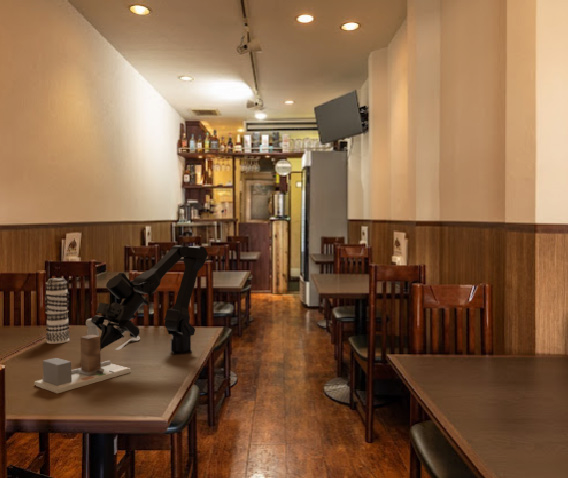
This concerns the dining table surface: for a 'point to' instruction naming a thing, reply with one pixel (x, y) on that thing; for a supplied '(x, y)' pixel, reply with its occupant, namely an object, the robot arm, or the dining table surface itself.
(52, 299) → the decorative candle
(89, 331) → the salt shaker
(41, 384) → the gauge board
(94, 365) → the gauge slider
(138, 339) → the spoon
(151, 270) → the robot arm
